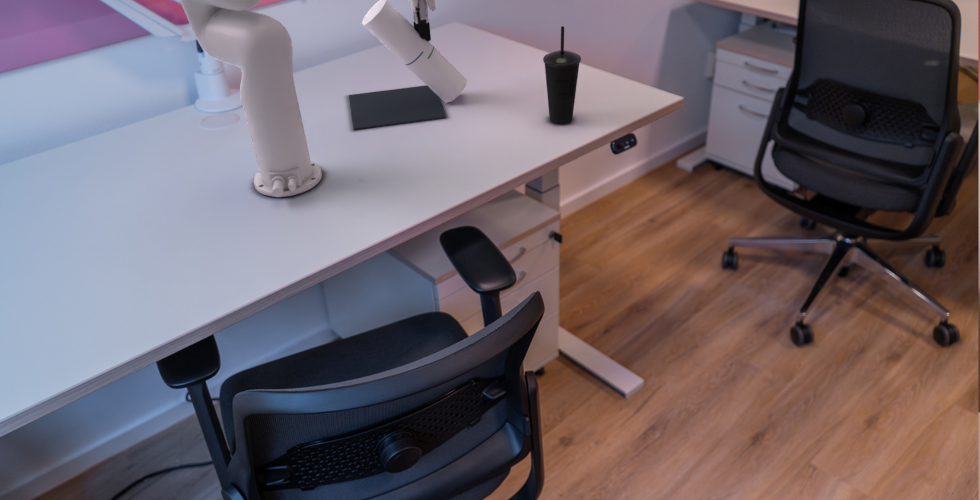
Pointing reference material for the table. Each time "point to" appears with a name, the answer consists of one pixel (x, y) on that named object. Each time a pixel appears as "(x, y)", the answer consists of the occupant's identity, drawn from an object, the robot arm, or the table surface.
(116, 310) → the table surface
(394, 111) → the desk mat
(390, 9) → the cylindrical container
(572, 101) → the drinking cup
